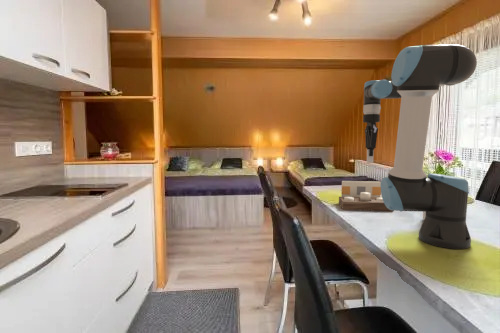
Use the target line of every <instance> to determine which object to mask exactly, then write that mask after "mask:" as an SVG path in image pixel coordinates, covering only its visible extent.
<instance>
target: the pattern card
mask: <svg viewBox="0 0 500 333" xmlns="http://www.w3.org/2000/svg"><path fill="white" fill-rule="evenodd" d="M361 192H368V193H370V197H374V198H379V197H380V198H381V196H382V195H381V181H375V180H373V181H372V180H371V181H370V180H368V181H365V180H364V181H362V180H359V181H358V180H342V181H341V195H340V197H360V193H361Z"/></svg>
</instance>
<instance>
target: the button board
mask: <svg viewBox="0 0 500 333" xmlns="http://www.w3.org/2000/svg"><path fill="white" fill-rule="evenodd" d="M353 198H354V201H350V200H344V197H341V196H338V205H339V207H340V208H341V209H342V211H343V210H344V211H377V212H381V211H382V212H394V211H393V210H389V209H388V208H387V207H386V206H385V204H384V202H383V201H377V200H376V198H374V197H370V201H361V200H360V197H353Z"/></svg>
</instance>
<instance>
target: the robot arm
mask: <svg viewBox="0 0 500 333" xmlns="http://www.w3.org/2000/svg"><path fill="white" fill-rule="evenodd" d="M477 64H478V60H477V56H476V54H475V53H474V51H472V50H471V48H469V47H467V46H465V45H462V44H452V43H451V44H425V45H424V44H421V45H419V44H418V45H413V46H412V45H411V46H406V47H405V48H403V49H402V50H400V51H399V53H398V55H397V56H396V58H395V60H394V63H393V66H392V69H391V77H390V78H391V80H388V79H379V80H376V79H375V80H367V81H366V82H364V86H363V109H362V110H363V111H362V112H363V114H364V115H363V117H362V119H363V120H362V121H363V123H366V126H365V128H364V135H365V136H364V138H365V149H366V163H367V164H374V155H375V154H374V153H375V149H376V148H377V139H378V132H379V128H378V127H377V123H380V122H381V121H380V120H381V114H380V113H381V109H382V107H381V100H382V99H383V100H384V99H385V100H387V99H388V100H389V99H391V100H392V99H401V100H400V108H399V117H398V126H397V135H396V145H395V151H394V152H395V153H394V154H395V155H394V164H393V167H392V168H391V169H389V170H388V174H387V176H385V177H382V179H381V181H380V182H381V195H380V196H381V198H382V199H383V202H384V204H385V206H386V207H387V208H388V209H389V210H393V211H392V212H394V211H395V212H398V211H399V212H423V211H425V212H426V216H425V219H424V220H423V222H422V223H421V226H420V228H419V230H418V239H419V240H420V241H422V242H424V243H425V244H427V245H431V246H435V247H440V248H444V249H452V250H453V249H454V250H463V249H468V248H471V246H472V245H471V243H472V238H471V235H470V232H469V228H468V226H467V213H468V212H467V210H468V200H469V199H468V198H469V193H470V191H469V189H470V188H469V182H468V180H466V179H465V178H462V177H457V176H452V175H446V174H440V173H428V175H427V173H426V172H425V171H424V170H423V168H424V167H423V166H424V161H425V160H424V159H425V158H424V157H425V152H426V146H427V145H426V144H427V137H428V130H429V122H430V115H431V108H432V103H433V102H432V101H433V100H432V99H433V97H434V95H435V94H437V93H438V92H439V91H440V88H441V87H444V86H449V87H450V86H455V85H458V84H461V83H463V82H465V81H467V80H468V79H470V78H471V76H473V74H474V73H475V72H476V68H477Z"/></svg>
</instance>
